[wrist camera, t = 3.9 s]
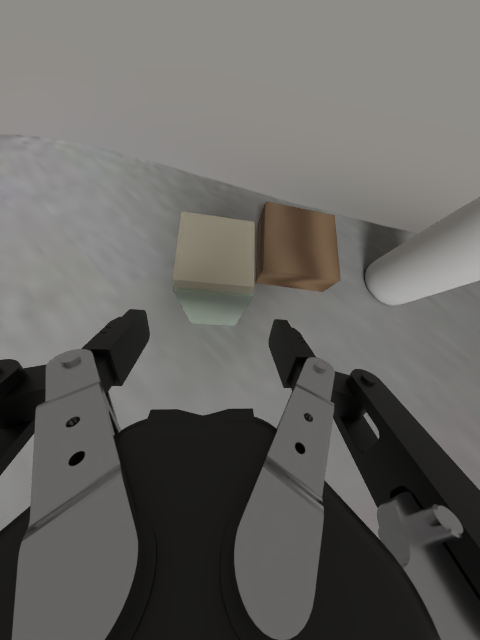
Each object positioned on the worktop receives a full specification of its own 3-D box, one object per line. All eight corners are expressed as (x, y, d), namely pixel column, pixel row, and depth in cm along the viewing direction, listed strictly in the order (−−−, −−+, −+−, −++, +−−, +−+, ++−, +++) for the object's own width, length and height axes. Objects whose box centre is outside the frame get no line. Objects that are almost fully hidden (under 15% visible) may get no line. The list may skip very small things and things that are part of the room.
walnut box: (255, 284, 24) (263, 269, 20) (257, 224, 26) (265, 201, 22) (321, 292, 25) (340, 280, 21) (317, 235, 28) (334, 215, 24)
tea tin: (191, 323, 21) (168, 282, 10) (195, 282, 22) (178, 208, 11) (234, 325, 22) (257, 290, 11) (236, 286, 23) (257, 220, 12)
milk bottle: (383, 315, 26) (903, 173, 6) (353, 272, 27) (723, 39, 7) (414, 293, 27) (885, 136, 8) (385, 255, 28) (744, 34, 9)
